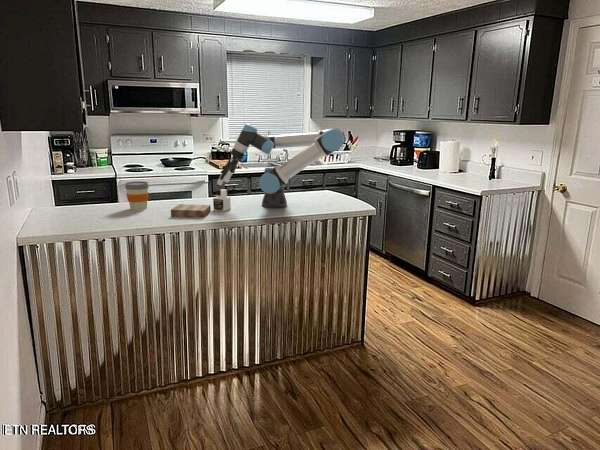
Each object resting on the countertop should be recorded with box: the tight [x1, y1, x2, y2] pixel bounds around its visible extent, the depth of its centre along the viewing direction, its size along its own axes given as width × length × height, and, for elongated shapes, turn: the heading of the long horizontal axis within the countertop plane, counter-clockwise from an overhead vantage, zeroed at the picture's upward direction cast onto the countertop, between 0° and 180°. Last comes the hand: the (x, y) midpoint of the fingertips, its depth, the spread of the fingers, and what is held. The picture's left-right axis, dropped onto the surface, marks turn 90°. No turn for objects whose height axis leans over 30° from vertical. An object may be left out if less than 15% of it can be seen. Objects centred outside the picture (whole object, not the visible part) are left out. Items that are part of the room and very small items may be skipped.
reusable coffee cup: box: [124, 180, 150, 211], centre depth 252 cm, size 12×13×15 cm
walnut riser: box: [170, 204, 212, 219], centre depth 241 cm, size 18×14×4 cm
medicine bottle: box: [212, 188, 232, 212], centre depth 253 cm, size 7×7×12 cm
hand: (222, 183), depth 252 cm, fingers open, 13 cm apart
